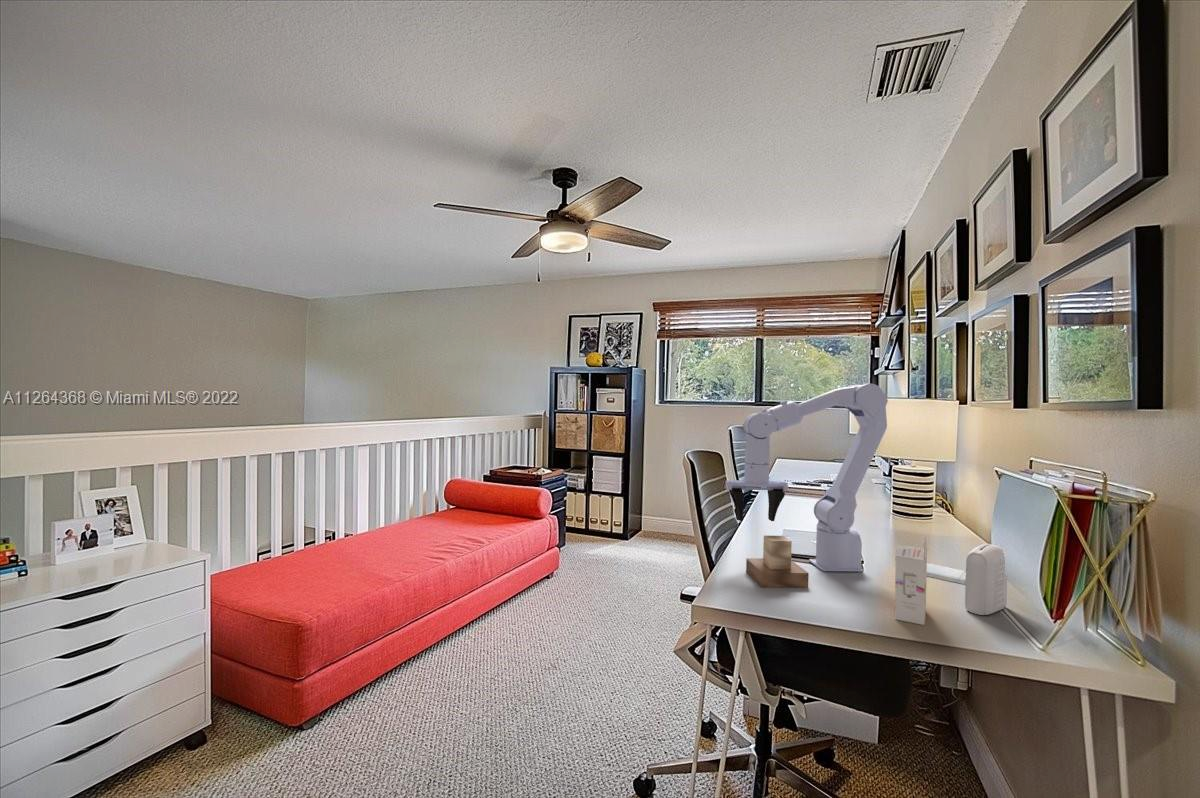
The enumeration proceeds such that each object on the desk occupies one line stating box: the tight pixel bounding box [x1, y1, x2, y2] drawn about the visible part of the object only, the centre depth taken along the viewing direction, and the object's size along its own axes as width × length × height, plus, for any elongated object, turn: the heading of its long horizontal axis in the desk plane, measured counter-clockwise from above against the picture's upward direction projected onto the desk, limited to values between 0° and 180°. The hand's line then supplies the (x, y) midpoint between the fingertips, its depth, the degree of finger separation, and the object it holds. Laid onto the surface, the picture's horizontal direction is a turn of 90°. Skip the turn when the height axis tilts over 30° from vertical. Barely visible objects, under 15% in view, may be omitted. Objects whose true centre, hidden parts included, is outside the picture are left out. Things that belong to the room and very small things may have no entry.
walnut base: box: [745, 557, 810, 588], centre depth 117 cm, size 10×10×3 cm
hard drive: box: [927, 562, 966, 585], centre depth 124 cm, size 2×8×12 cm
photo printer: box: [964, 543, 1008, 616], centre depth 103 cm, size 10×4×12 cm, turn 123°
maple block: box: [762, 535, 793, 569], centre depth 117 cm, size 4×4×6 cm
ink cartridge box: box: [894, 533, 928, 626], centre depth 99 cm, size 9×5×15 cm, turn 148°
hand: (755, 520), depth 128 cm, fingers open, 7 cm apart
